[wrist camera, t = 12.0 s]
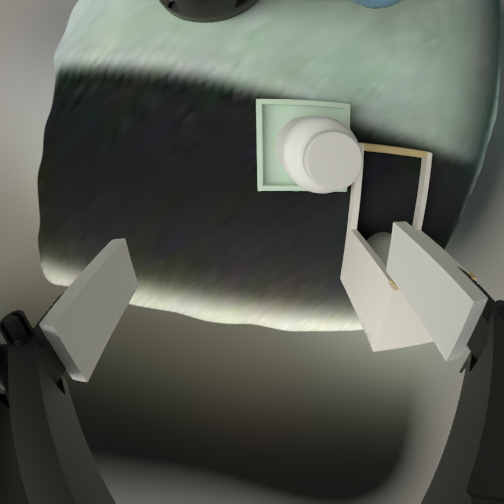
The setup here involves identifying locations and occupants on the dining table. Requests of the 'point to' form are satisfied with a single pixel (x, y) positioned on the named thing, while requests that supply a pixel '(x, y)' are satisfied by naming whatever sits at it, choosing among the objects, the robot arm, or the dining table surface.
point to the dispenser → (384, 268)
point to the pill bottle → (319, 153)
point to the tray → (268, 125)
